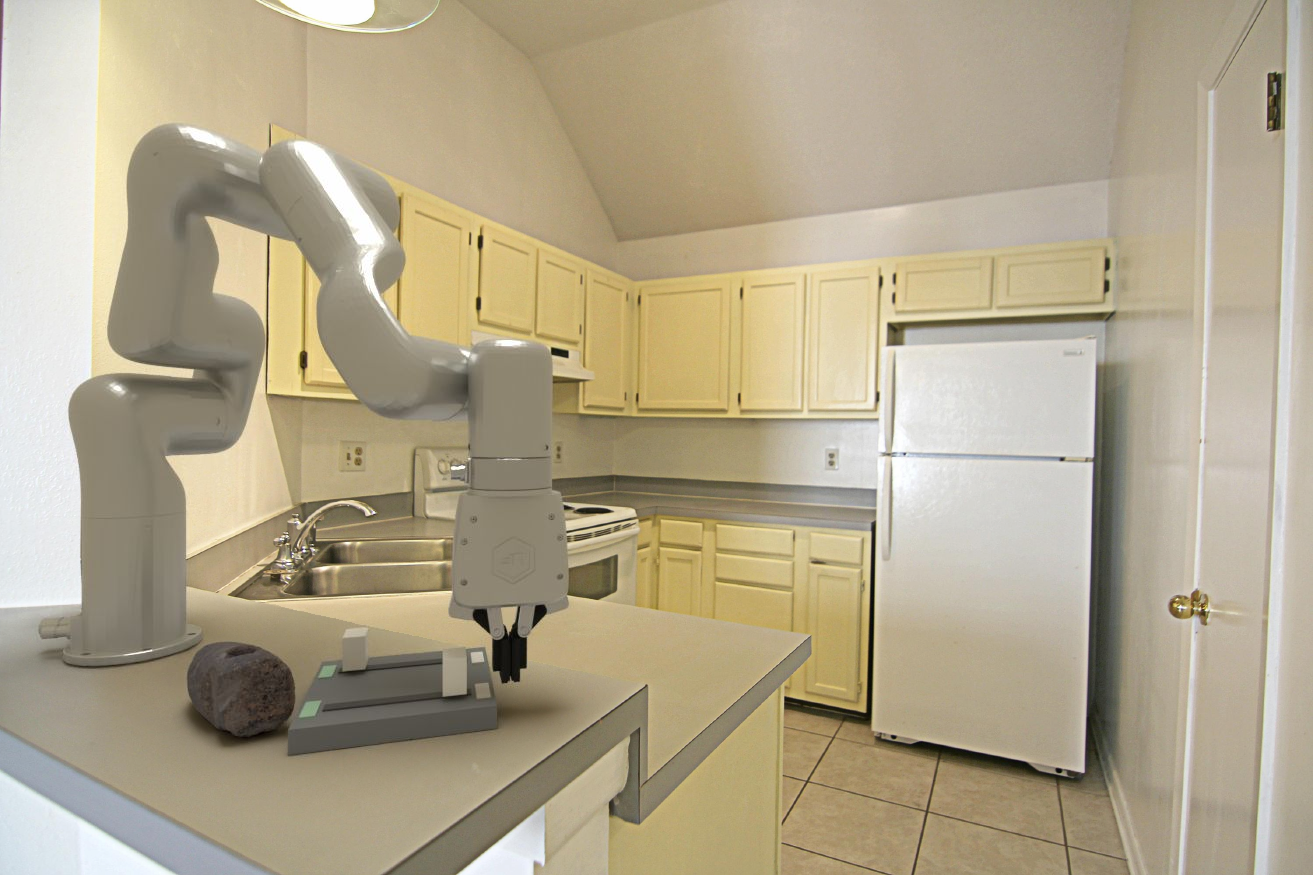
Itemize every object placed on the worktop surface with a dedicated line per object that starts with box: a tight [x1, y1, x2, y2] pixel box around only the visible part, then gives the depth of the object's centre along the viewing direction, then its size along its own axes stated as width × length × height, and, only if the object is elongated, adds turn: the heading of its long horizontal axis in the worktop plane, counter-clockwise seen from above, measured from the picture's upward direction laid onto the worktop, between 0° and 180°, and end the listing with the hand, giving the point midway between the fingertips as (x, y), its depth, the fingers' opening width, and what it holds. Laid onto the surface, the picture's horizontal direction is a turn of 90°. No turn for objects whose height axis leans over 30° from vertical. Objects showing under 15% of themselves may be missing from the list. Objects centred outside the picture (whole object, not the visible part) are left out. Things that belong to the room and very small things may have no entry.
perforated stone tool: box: [186, 641, 296, 737], centre depth 59 cm, size 15×5×7 cm, turn 52°
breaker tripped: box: [442, 646, 467, 697], centre depth 59 cm, size 2×3×3 cm, turn 18°
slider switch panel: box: [287, 646, 498, 756], centre depth 62 cm, size 16×16×2 cm
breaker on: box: [342, 626, 370, 671], centre depth 65 cm, size 2×3×3 cm, turn 18°
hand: (509, 677), depth 61 cm, fingers closed
